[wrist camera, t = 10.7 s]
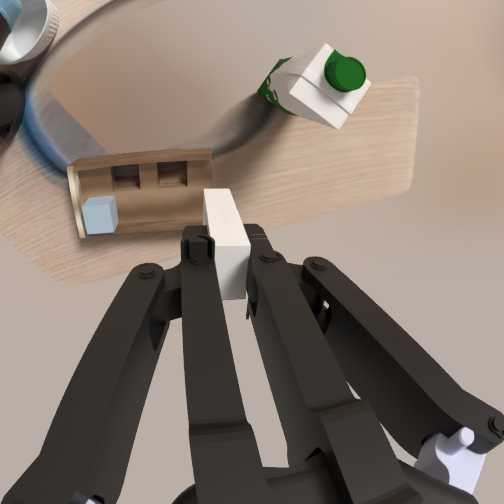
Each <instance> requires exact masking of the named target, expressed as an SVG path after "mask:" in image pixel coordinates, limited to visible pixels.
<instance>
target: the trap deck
mask: <svg viewBox="0 0 504 504" xmlns="http://www.w3.org/2000/svg"><path fill="white" fill-rule="evenodd" d="M212 160H213V153H212V150H211V148H196V149H174V150H158V151H145V152H134V153H124V154H116V155H107V156H99V157H91V158H84V159H78V160H76V161H75V162H73V163H72V164H71V165H69V166H68V167H67V173H68V179H69V186H70V192H71V197H72V203H73V208H74V213H75V218H76V222H77V227H78V231H79V235H80V238H85V237H86V236H98V235H112V234H126V233H141V232H156V231H173V230H183V229H184V228H185V227H186V226H190V225H203V195H204V189H211V178H212ZM171 161H187V182H182V183H164V184H159V167H158V162H171ZM131 164H139V176H140V185H137V186H125V187H116V181H115V172H114V166H121V165H131ZM113 195H115V200H116V207H117V214H118V220H119V222H118V224H117V227H116V229H115V231H114V232H112V233H99V234H87V231H86V226H85V222H84V217H83V212H82V206H83V205H84V203H85V202H86V201H87V200H88V198H93V197H102V196H113Z"/></svg>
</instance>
